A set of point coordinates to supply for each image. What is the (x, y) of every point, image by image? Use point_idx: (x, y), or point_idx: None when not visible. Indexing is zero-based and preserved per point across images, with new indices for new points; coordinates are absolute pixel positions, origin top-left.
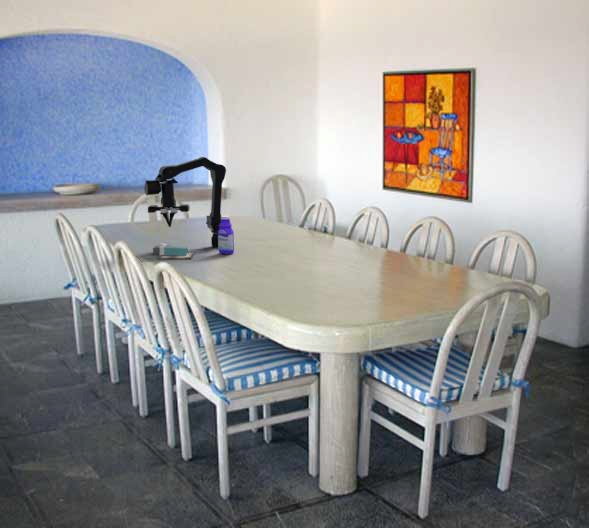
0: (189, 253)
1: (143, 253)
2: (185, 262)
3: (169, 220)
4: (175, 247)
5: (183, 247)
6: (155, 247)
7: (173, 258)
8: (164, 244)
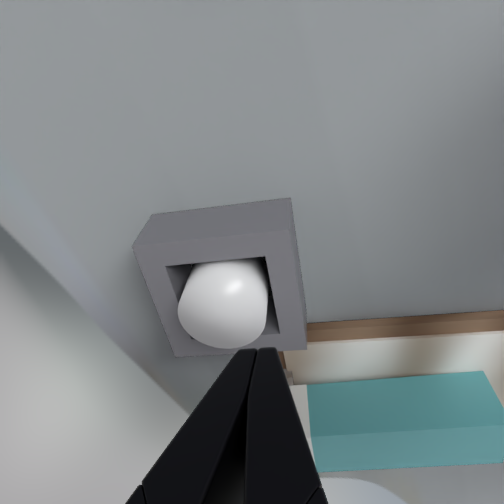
0: (500, 339)
1: (96, 293)
2: (473, 486)
3: (220, 461)
4: (405, 454)
5: (475, 441)
6: (186, 340)
7: None
8: (253, 325)
